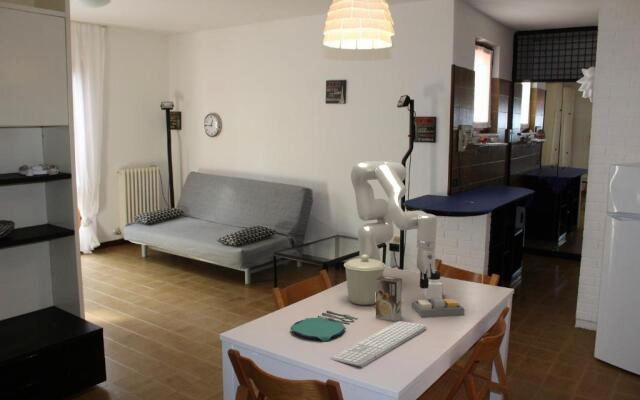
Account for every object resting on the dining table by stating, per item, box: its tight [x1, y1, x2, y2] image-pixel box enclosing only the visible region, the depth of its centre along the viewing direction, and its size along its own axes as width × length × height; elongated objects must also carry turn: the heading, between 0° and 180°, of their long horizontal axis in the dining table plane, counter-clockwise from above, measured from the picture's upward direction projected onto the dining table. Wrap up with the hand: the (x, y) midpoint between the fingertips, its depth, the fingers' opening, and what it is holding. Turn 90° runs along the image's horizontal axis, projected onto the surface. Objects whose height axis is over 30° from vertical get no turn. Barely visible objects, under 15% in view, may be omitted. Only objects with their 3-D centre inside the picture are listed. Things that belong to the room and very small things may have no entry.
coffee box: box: [375, 275, 403, 322], centre depth 223 cm, size 9×6×16 cm
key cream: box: [417, 299, 432, 309], centre depth 230 cm, size 4×6×3 cm
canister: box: [343, 254, 387, 306], centre depth 242 cm, size 18×18×21 cm
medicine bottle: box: [423, 269, 444, 300], centre depth 249 cm, size 7×7×12 cm
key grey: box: [430, 297, 445, 309], centre depth 230 cm, size 4×6×3 cm
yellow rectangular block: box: [442, 298, 459, 308], centre depth 231 cm, size 4×6×3 cm
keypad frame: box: [411, 299, 465, 318], centre depth 231 cm, size 18×12×3 cm, turn 99°
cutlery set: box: [290, 309, 359, 342], centre depth 213 cm, size 20×30×2 cm, turn 148°
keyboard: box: [329, 320, 427, 368], centre depth 198 cm, size 44×12×2 cm, turn 141°
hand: (423, 287), depth 229 cm, fingers closed
